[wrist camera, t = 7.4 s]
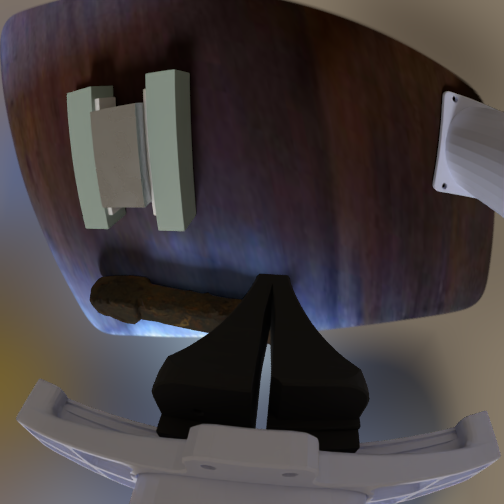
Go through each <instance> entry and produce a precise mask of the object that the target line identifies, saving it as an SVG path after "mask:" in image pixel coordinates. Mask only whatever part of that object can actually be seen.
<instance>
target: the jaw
mask: <svg viewBox="0 0 504 504" xmlns="http://www.w3.org/2000/svg"><path fill="white" fill-rule="evenodd" d="M145 79H146V89H143V104H144V123H145V138H146V150H147V161H148V171H149V181H150V189H151V198H152V205H153V213H154V215H156V216H157V223H158V230H165V231H185V230H186V228H187V227H188V226H189V224H190V223H191V221H192V220H193V219H194V217H195V216H196V206H195V193H194V178H193V161H192V141H191V116H190V73H188V72H184V71H180V70H175V69H173V70H166V71H159V72H153V73H148V74H145Z"/></svg>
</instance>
